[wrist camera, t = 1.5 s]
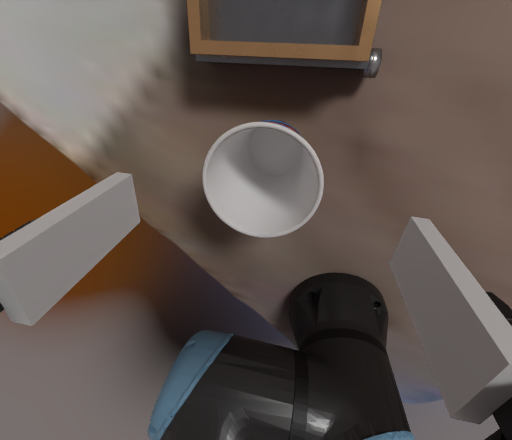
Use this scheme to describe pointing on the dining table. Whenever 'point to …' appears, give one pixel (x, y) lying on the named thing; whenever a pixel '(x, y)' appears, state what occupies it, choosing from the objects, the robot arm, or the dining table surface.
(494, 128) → the dining table surface
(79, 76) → the dining table surface
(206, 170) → the coffee cup
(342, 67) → the square wooden box
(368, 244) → the dining table surface
